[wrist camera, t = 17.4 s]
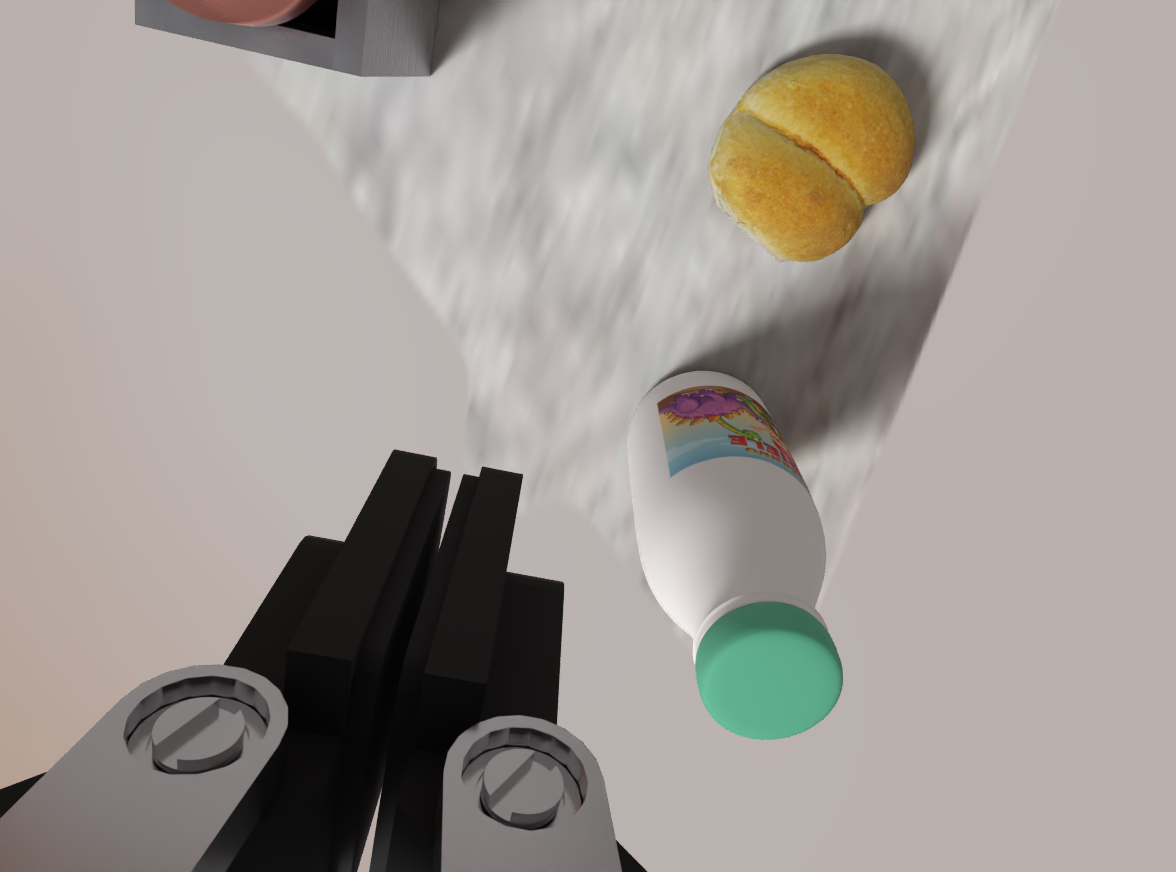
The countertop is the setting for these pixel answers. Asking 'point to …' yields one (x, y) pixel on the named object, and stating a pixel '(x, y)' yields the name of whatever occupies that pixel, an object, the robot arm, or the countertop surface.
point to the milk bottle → (734, 552)
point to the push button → (254, 10)
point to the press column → (323, 35)
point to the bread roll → (811, 154)
